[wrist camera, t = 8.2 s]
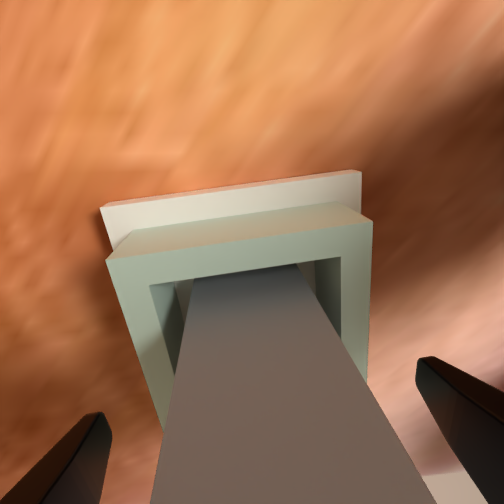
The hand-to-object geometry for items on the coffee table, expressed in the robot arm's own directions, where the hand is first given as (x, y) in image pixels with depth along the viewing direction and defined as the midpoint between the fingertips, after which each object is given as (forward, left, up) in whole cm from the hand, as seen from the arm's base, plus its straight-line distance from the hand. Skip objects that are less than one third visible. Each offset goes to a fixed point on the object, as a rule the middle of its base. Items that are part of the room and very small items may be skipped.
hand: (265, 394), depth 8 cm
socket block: (0, 0, -6) cm, 6 cm away
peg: (0, 0, -5) cm, 5 cm away
